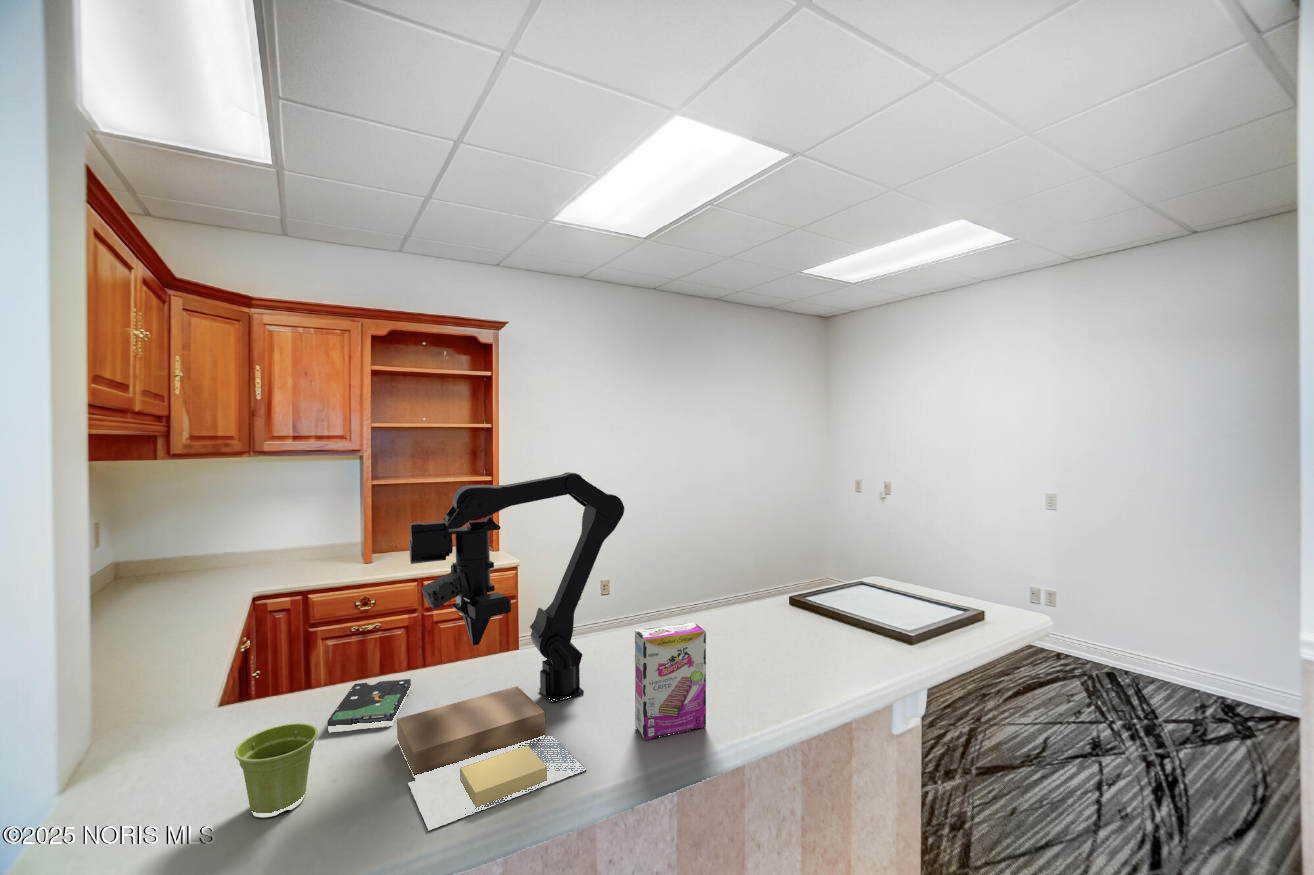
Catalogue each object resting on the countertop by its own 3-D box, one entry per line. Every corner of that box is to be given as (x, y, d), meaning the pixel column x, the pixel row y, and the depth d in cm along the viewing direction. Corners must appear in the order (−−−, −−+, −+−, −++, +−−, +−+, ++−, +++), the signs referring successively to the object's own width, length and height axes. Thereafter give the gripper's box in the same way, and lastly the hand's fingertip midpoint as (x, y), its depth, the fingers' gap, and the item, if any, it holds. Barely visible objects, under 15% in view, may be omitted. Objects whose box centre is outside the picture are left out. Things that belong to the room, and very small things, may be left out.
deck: (517, 708, 104) (517, 685, 104) (545, 736, 94) (544, 711, 94) (397, 743, 93) (396, 718, 93) (414, 780, 83) (413, 752, 83)
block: (546, 766, 82) (547, 780, 82) (527, 745, 87) (527, 758, 87) (475, 792, 76) (475, 807, 76) (460, 767, 82) (460, 781, 82)
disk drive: (353, 698, 111) (326, 736, 96) (353, 683, 111) (326, 720, 96) (411, 692, 113) (393, 729, 98) (411, 677, 113) (393, 712, 98)
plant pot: (333, 782, 83) (331, 721, 83) (294, 827, 73) (292, 758, 73) (266, 784, 82) (264, 723, 82) (218, 830, 73) (216, 761, 73)
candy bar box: (644, 742, 92) (643, 639, 92) (634, 728, 96) (632, 629, 96) (708, 728, 96) (707, 629, 96) (695, 715, 100) (694, 620, 100)
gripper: (410, 555, 105) (413, 641, 105) (443, 574, 90) (446, 674, 91) (471, 546, 112) (473, 627, 112) (511, 562, 97) (513, 655, 97)
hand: (475, 644), depth 103 cm, fingers closed
